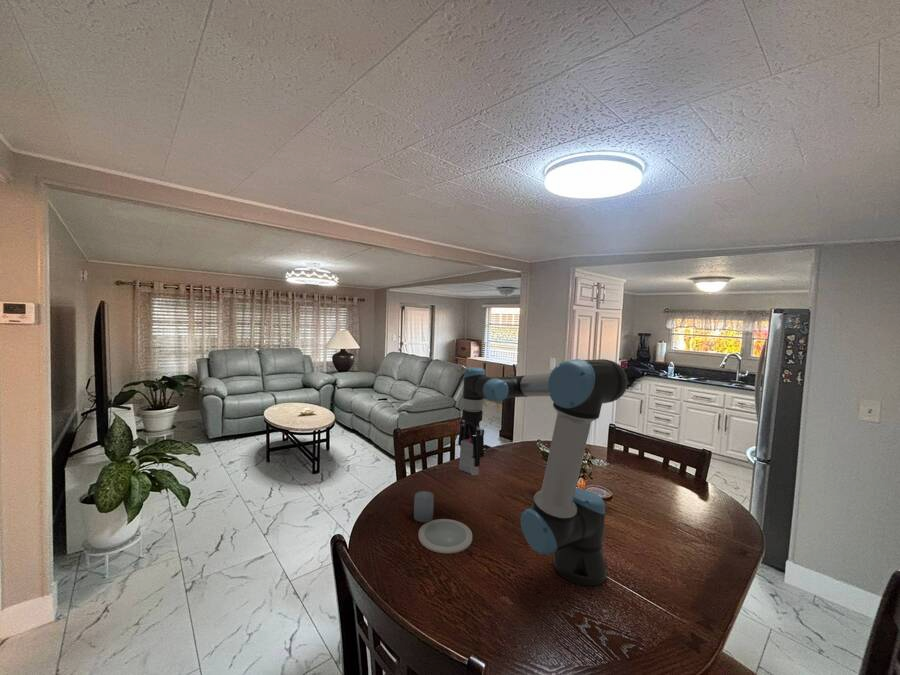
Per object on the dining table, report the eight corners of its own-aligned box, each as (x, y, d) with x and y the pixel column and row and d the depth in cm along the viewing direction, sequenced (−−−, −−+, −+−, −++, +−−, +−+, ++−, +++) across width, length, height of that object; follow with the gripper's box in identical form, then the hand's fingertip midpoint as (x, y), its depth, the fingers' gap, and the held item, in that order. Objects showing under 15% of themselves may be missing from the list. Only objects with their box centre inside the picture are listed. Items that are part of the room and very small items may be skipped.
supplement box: (471, 475, 135) (473, 444, 135) (458, 470, 139) (459, 440, 138) (480, 470, 140) (481, 440, 139) (467, 466, 143) (468, 437, 143)
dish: (482, 545, 121) (482, 541, 121) (432, 559, 113) (432, 555, 113) (456, 517, 137) (456, 514, 137) (410, 528, 129) (410, 524, 129)
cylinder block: (436, 519, 135) (437, 498, 135) (418, 523, 132) (419, 501, 131) (428, 510, 141) (429, 489, 141) (410, 514, 138) (411, 493, 138)
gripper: (496, 415, 131) (493, 479, 132) (467, 402, 149) (464, 459, 150) (478, 417, 127) (474, 482, 129) (450, 403, 145) (448, 461, 147)
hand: (469, 470), depth 139 cm, fingers closed on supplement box, 7 cm apart
